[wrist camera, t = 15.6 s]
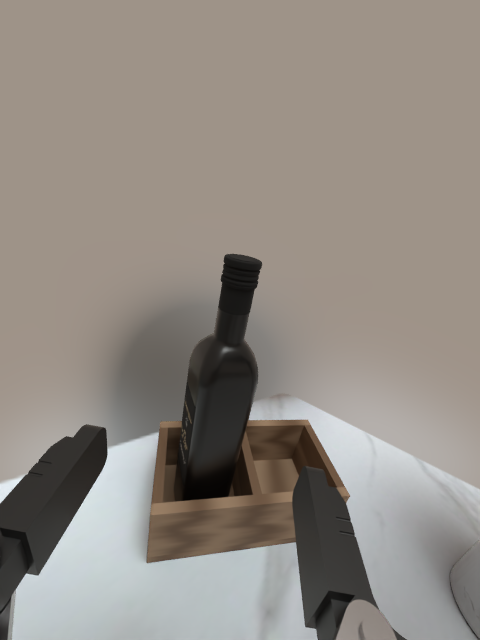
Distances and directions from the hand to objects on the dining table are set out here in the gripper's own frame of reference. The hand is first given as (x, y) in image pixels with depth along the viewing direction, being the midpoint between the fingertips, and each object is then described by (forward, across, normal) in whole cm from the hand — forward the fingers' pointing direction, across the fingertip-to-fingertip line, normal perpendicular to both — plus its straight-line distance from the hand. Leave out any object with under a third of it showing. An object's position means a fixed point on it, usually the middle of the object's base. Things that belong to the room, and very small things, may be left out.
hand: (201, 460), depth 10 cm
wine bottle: (+13, 0, +24) cm, 28 cm away
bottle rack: (+14, -4, +25) cm, 29 cm away
